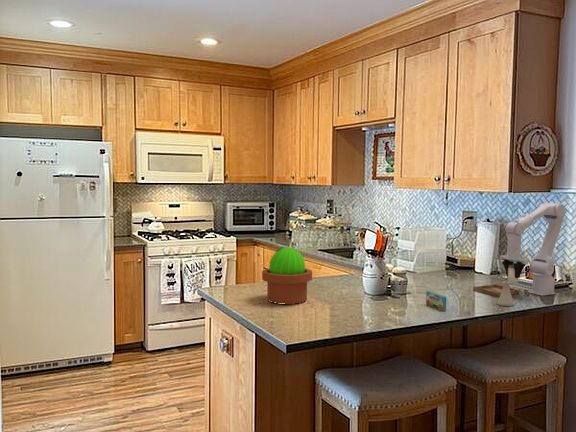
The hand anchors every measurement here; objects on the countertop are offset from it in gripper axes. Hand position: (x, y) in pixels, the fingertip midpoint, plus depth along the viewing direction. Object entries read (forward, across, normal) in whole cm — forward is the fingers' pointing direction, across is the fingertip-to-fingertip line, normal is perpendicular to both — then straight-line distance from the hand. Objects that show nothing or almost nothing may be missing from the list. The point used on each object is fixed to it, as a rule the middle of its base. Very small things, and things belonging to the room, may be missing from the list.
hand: (513, 277), depth 239 cm
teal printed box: (+10, +2, -46) cm, 47 cm away
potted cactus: (+10, -35, -100) cm, 106 cm away
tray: (+9, -10, 0) cm, 14 cm away
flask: (+10, +10, -14) cm, 20 cm away
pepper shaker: (+2, 0, 0) cm, 2 cm away
